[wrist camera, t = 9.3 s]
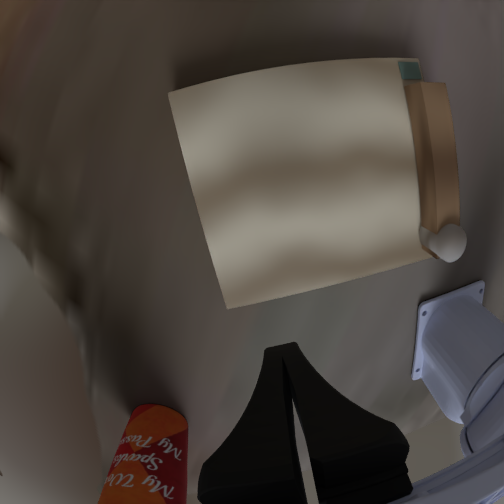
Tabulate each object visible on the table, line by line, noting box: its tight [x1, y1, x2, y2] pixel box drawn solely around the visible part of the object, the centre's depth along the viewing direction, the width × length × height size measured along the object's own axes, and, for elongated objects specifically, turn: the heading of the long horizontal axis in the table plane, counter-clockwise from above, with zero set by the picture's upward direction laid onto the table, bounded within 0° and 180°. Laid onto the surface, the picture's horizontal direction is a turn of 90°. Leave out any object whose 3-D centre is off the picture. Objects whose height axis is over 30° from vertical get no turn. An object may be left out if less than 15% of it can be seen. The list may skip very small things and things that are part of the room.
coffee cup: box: [98, 404, 188, 504], centre depth 20 cm, size 8×8×15 cm
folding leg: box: [404, 82, 467, 262], centre depth 16 cm, size 11×2×3 cm, turn 12°
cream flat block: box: [168, 58, 433, 309], centre depth 18 cm, size 14×16×2 cm
